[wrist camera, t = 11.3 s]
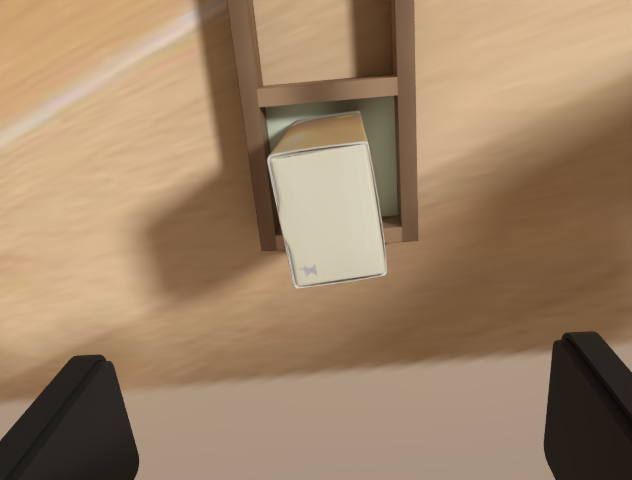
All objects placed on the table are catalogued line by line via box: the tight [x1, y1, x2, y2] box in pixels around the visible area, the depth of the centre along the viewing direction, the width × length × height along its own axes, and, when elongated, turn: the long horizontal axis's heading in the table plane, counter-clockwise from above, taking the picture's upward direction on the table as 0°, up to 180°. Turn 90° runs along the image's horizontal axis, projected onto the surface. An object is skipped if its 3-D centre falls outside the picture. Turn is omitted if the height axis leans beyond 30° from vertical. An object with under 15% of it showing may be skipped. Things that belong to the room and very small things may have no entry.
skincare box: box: [267, 110, 387, 288], centre depth 27 cm, size 6×4×12 cm
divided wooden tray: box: [227, 0, 418, 251], centre depth 30 cm, size 10×19×2 cm, turn 5°
